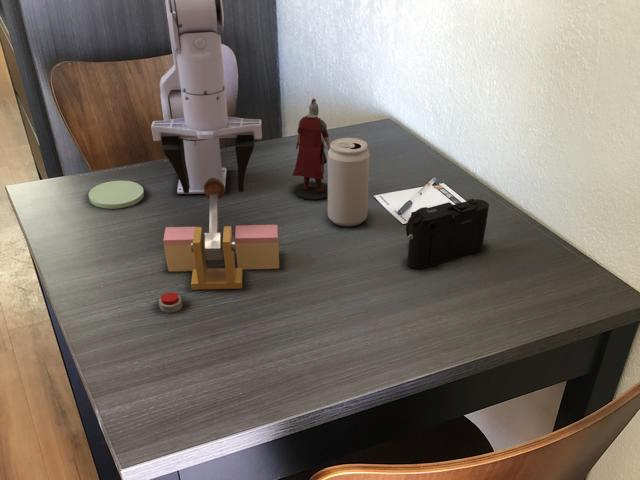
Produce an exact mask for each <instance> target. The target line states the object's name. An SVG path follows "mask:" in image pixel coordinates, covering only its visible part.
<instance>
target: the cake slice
mask: <svg viewBox="0 0 640 480" xmlns="http://www.w3.org/2000/svg"><path fill="white" fill-rule="evenodd" d="M195 227H196V226H165V230H164V234H163V240H162V241H163V248H164V253H165V259H166V264H167V271H168V272H171V273H172V272H173V273H174V272H193V269H196V265H195V258H194V252H192V251H191V242H193V236H194V228H195Z"/></svg>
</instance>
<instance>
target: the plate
mask: <svg viewBox="0 0 640 480" xmlns="http://www.w3.org/2000/svg"><path fill="white" fill-rule="evenodd" d="M144 198H145V190H144V187H143V186H142V185H141V184H139V183H137V182H134V181H130V180H112V181H111V180H110V181H106V182H101V183H100V184H97V185H95V186H94V187H92V188H91V189H90V190H89V191H88V199H89V202H90V203H91V204H92V205H93V206H95V207H98V208H100V209H107V210H109V209H110V210H112V209H113V210H115V209H123V208H128V207H131V206H133V205H136V204H138V203H139V202H141V201H142V200H143V199H144Z"/></svg>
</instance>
